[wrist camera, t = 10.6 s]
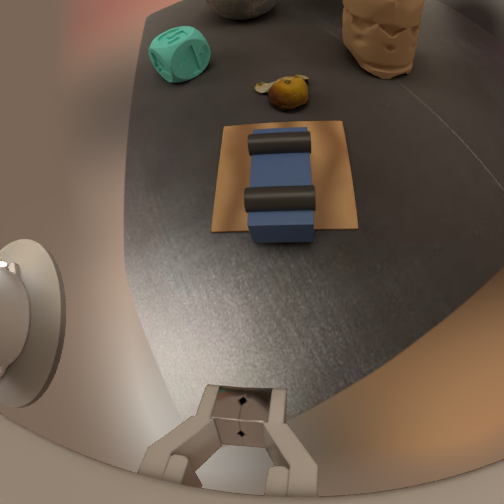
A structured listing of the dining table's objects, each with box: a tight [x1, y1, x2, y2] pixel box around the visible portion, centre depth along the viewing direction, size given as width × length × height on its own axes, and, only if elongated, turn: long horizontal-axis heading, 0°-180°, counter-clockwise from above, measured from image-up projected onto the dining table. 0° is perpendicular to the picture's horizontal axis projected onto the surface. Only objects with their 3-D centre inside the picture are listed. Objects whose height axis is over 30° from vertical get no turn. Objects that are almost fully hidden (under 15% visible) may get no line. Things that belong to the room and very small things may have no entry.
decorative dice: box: [148, 26, 211, 83], centre depth 44 cm, size 8×8×8 cm
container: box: [342, 0, 424, 79], centre depth 34 cm, size 13×13×18 cm
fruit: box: [255, 75, 309, 111], centre depth 39 cm, size 8×8×4 cm
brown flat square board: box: [211, 121, 358, 233], centre depth 36 cm, size 16×16×1 cm
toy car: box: [244, 127, 316, 243], centre depth 31 cm, size 6×6×12 cm
